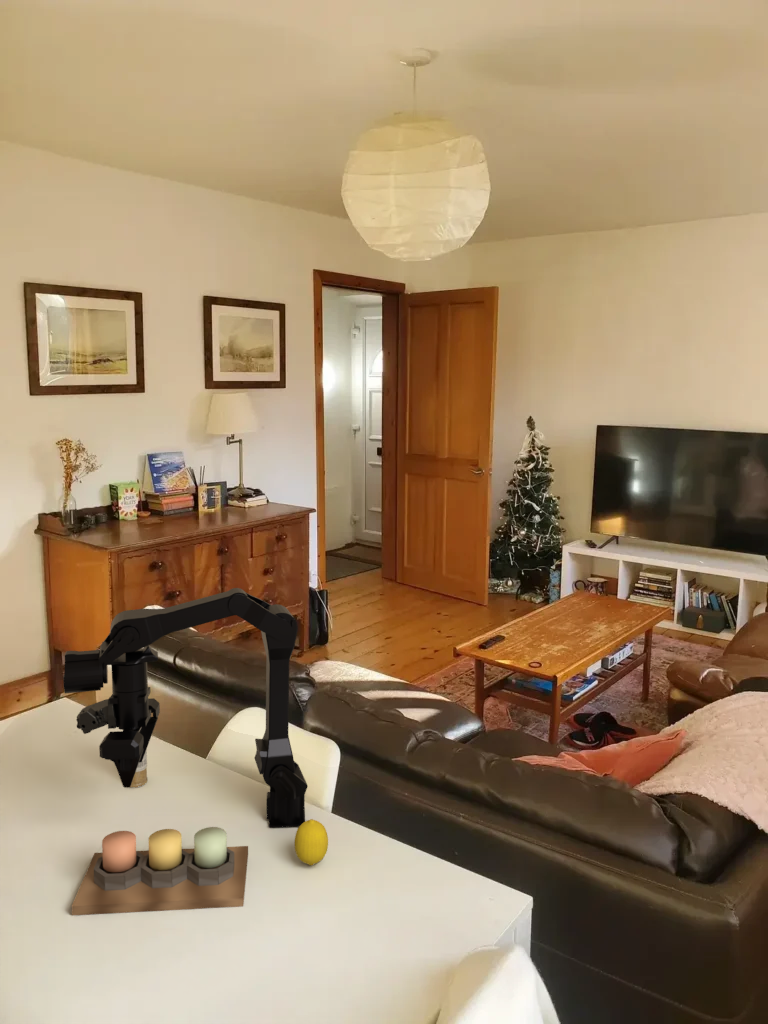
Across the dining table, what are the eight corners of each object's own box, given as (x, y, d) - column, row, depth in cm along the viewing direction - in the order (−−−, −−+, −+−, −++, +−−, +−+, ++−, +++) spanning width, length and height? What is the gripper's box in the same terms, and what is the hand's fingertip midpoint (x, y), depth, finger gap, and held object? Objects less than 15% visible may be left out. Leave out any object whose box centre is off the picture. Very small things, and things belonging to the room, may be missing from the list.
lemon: (322, 876, 128) (323, 830, 127) (289, 872, 129) (290, 826, 128) (331, 858, 133) (332, 813, 132) (300, 853, 134) (300, 809, 133)
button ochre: (183, 851, 128) (183, 828, 127) (179, 869, 123) (179, 845, 122) (152, 852, 127) (151, 829, 126) (146, 871, 122) (145, 846, 122)
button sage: (227, 849, 128) (227, 826, 128) (225, 867, 124) (225, 843, 123) (196, 850, 128) (196, 827, 127) (192, 868, 123) (192, 844, 122)
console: (248, 854, 134) (248, 833, 133) (243, 906, 120) (243, 883, 119) (94, 861, 131) (94, 839, 130) (71, 915, 117) (71, 891, 116)
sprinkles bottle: (142, 775, 161) (140, 712, 159) (151, 784, 157) (150, 719, 155) (120, 782, 158) (118, 717, 156) (128, 791, 154) (127, 725, 152)
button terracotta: (139, 853, 127) (138, 830, 126) (133, 871, 122) (132, 847, 121) (106, 854, 126) (106, 831, 126) (99, 873, 121) (98, 848, 121)
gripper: (95, 669, 142) (98, 751, 144) (63, 709, 124) (68, 803, 126) (159, 667, 143) (161, 749, 145) (137, 707, 125) (140, 800, 127)
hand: (133, 774), depth 136 cm, fingers open, 9 cm apart
